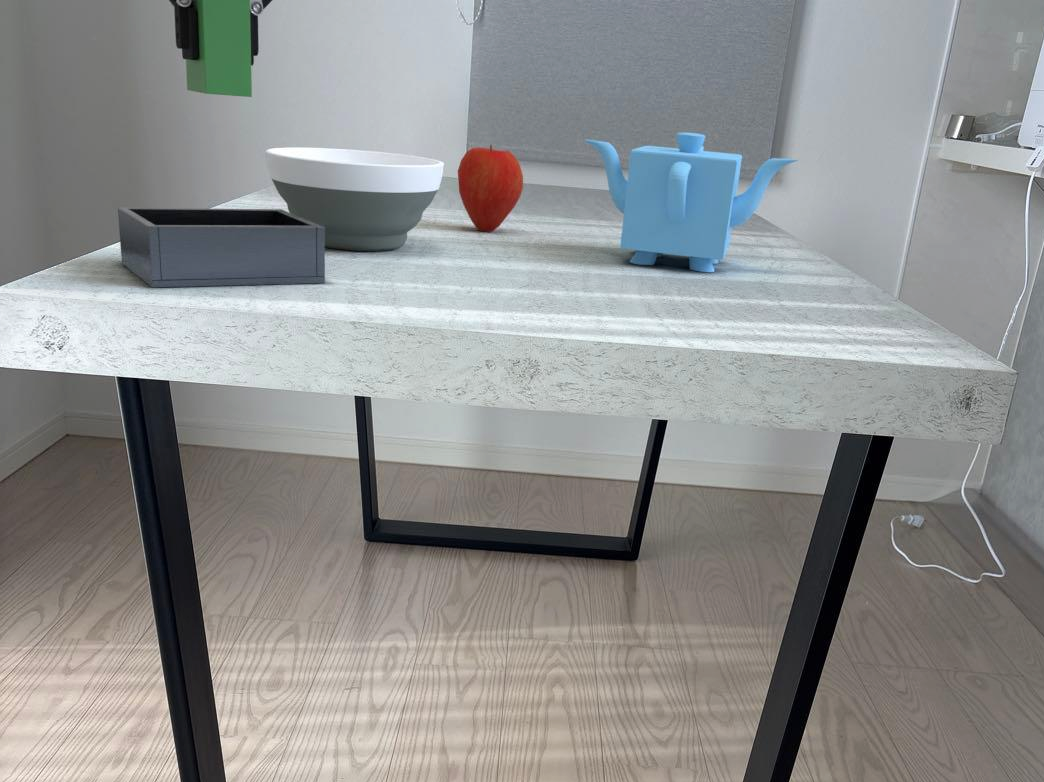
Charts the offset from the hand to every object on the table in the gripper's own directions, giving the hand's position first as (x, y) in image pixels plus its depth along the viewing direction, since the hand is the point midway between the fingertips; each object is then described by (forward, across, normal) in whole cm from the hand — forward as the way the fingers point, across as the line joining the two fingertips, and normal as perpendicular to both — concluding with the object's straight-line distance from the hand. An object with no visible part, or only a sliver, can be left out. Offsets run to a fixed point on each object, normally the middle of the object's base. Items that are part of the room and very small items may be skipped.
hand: (218, 59), depth 92 cm
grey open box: (+18, 0, +1) cm, 18 cm away
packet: (+3, 0, 0) cm, 3 cm away
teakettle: (+18, -56, -2) cm, 59 cm away
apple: (+18, -42, -26) cm, 53 cm away
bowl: (+18, -20, -16) cm, 31 cm away
